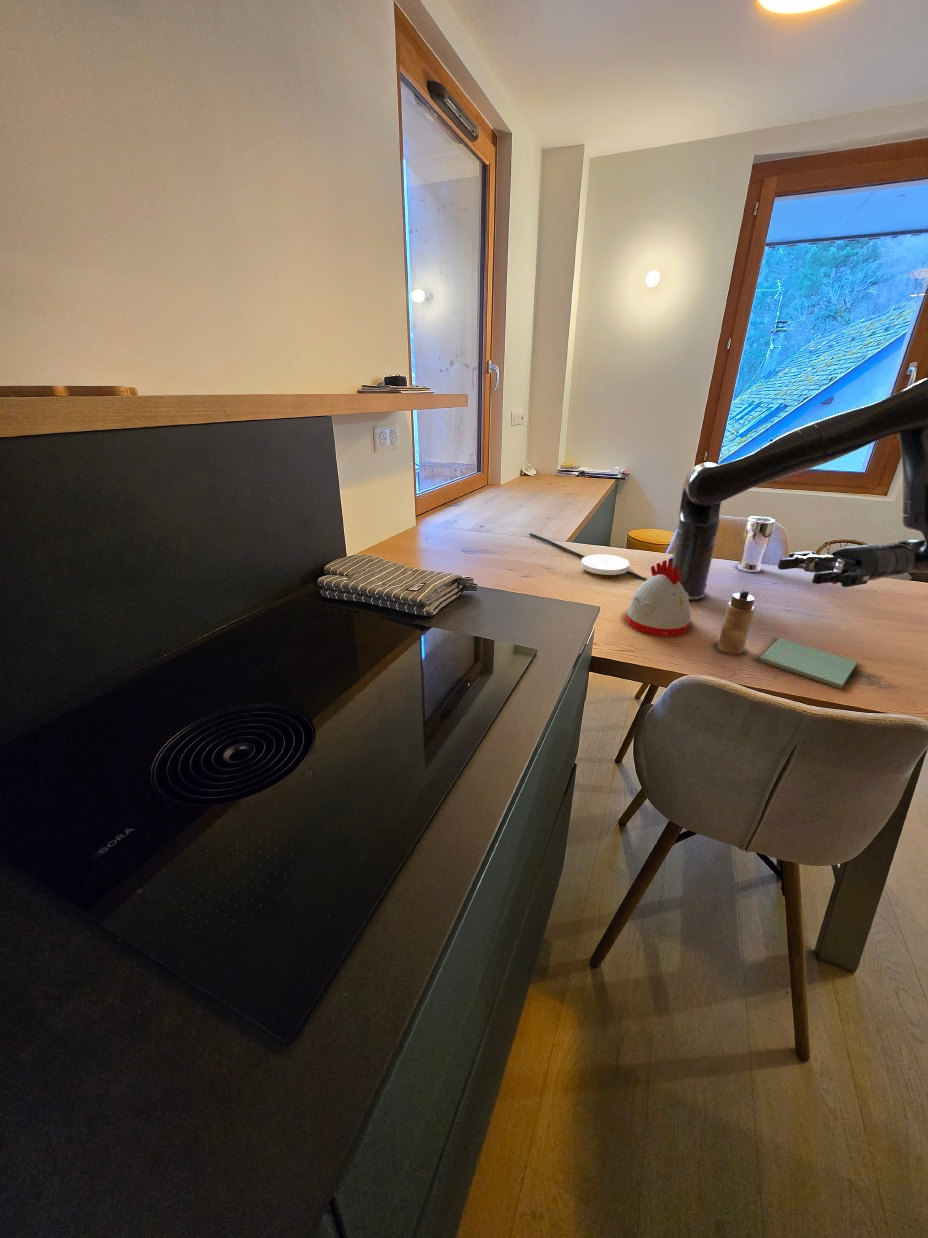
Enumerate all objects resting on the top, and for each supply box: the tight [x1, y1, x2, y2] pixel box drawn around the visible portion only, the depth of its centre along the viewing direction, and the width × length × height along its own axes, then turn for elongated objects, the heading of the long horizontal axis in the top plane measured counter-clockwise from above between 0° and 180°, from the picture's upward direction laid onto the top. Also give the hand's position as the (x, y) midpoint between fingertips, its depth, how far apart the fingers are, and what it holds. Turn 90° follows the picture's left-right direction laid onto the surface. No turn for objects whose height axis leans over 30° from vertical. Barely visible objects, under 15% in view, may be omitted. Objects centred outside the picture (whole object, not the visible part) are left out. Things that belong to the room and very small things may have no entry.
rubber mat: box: [759, 637, 858, 689], centre depth 98 cm, size 14×12×1 cm
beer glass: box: [737, 516, 776, 573], centre depth 144 cm, size 7×7×15 cm
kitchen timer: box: [625, 559, 691, 637], centre depth 113 cm, size 14×14×15 cm
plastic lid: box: [580, 553, 631, 576], centre depth 147 cm, size 14×14×2 cm
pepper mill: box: [717, 590, 756, 655], centre depth 101 cm, size 5×5×13 cm
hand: (796, 571), depth 99 cm, fingers open, 8 cm apart
